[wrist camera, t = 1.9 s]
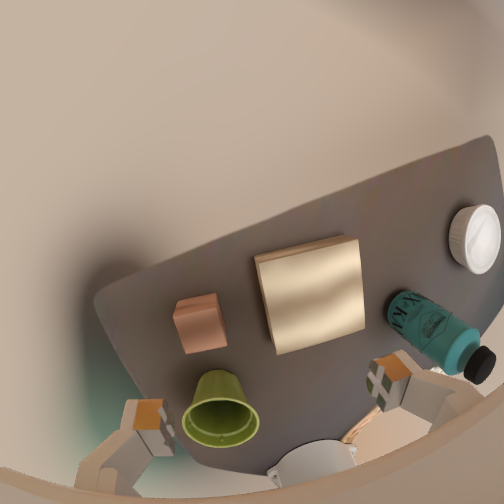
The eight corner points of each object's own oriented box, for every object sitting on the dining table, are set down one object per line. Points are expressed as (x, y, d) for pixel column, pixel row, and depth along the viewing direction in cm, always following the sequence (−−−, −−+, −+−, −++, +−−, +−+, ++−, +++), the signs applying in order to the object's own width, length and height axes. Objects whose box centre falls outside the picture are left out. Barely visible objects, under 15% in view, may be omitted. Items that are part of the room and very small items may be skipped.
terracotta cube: (225, 326, 37) (227, 345, 32) (188, 334, 36) (185, 354, 31) (215, 292, 36) (216, 307, 31) (177, 300, 35) (172, 316, 30)
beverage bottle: (419, 294, 40) (511, 348, 20) (399, 330, 41) (480, 398, 21) (394, 279, 38) (494, 336, 19) (372, 318, 39) (458, 394, 20)
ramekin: (448, 196, 37) (471, 198, 32) (484, 208, 39) (504, 211, 34) (437, 264, 39) (459, 272, 34) (474, 268, 41) (494, 275, 36)
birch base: (352, 316, 39) (364, 328, 35) (271, 339, 38) (277, 355, 34) (343, 234, 36) (357, 239, 32) (253, 255, 35) (258, 263, 31)
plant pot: (176, 367, 37) (169, 407, 29) (240, 351, 38) (247, 390, 29) (200, 412, 39) (199, 452, 31) (258, 398, 40) (267, 438, 31)
